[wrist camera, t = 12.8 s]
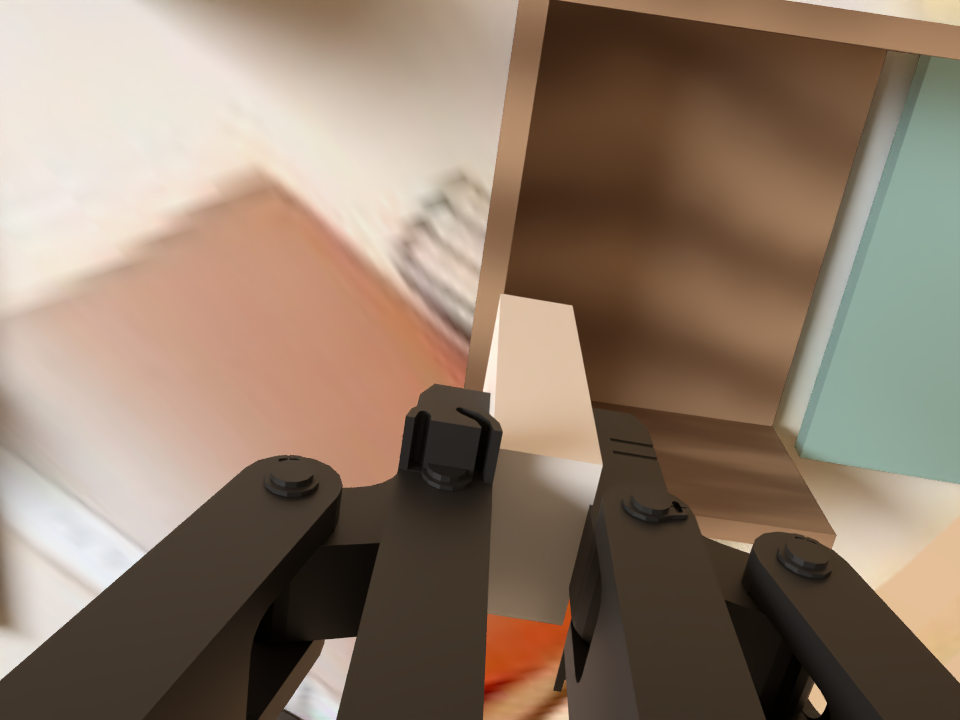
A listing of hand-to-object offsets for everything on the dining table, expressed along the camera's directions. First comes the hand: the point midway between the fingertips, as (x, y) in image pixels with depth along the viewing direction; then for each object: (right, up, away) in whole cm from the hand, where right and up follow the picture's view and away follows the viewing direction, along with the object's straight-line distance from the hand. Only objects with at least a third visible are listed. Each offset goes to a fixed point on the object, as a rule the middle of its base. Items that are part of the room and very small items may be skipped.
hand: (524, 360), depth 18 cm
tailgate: (+17, +5, +24) cm, 30 cm away
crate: (+8, +7, +25) cm, 27 cm away
